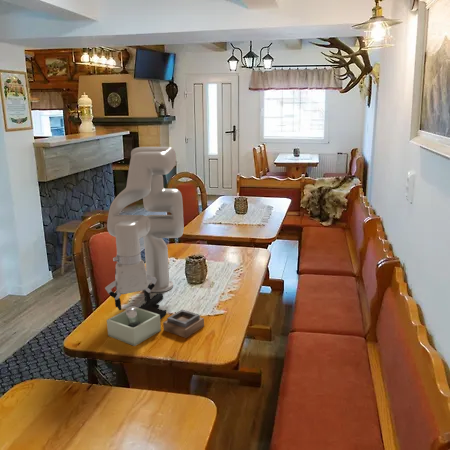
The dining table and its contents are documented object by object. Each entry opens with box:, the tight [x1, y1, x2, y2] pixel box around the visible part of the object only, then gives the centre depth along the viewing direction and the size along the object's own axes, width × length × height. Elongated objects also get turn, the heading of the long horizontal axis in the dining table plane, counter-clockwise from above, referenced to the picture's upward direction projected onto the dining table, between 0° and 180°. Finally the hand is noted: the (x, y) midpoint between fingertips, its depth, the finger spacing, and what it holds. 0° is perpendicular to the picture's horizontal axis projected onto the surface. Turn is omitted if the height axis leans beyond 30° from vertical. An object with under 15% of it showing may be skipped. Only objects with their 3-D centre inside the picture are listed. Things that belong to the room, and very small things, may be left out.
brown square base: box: [162, 309, 205, 338], centre depth 163 cm, size 10×10×4 cm
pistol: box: [137, 292, 167, 321], centre depth 179 cm, size 3×20×11 cm
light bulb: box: [125, 306, 141, 328], centre depth 159 cm, size 4×4×8 cm
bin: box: [106, 306, 162, 347], centre depth 160 cm, size 13×13×6 cm
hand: (133, 305), depth 158 cm, fingers open, 9 cm apart
